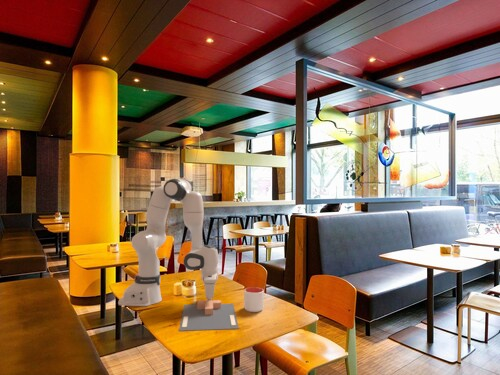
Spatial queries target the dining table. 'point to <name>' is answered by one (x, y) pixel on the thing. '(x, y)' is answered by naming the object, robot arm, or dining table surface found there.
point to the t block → (209, 306)
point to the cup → (253, 299)
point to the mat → (208, 318)
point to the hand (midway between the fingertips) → (209, 301)
